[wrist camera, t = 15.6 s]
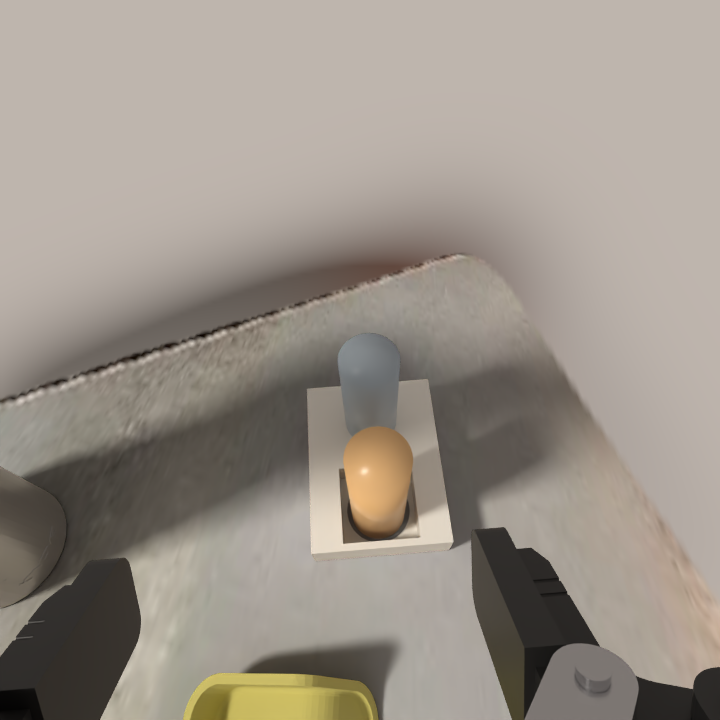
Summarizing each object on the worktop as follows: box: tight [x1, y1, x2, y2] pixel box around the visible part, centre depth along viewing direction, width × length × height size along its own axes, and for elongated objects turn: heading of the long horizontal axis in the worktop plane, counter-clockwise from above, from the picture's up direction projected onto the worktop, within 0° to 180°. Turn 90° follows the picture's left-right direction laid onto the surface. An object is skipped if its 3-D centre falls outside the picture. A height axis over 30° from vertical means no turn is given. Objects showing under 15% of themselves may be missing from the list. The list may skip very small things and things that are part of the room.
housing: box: [307, 333, 453, 561], centre depth 38 cm, size 13×10×13 cm
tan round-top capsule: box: [343, 426, 413, 539], centre depth 36 cm, size 4×4×12 cm
